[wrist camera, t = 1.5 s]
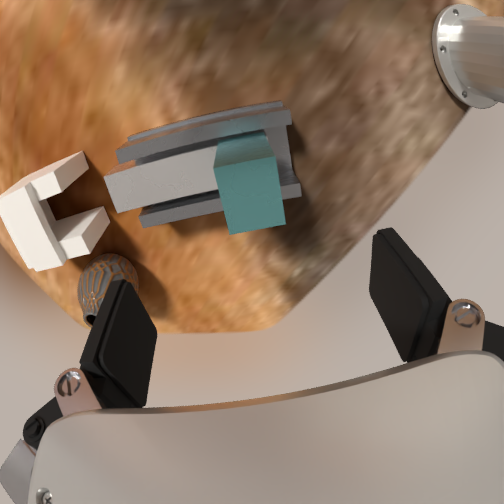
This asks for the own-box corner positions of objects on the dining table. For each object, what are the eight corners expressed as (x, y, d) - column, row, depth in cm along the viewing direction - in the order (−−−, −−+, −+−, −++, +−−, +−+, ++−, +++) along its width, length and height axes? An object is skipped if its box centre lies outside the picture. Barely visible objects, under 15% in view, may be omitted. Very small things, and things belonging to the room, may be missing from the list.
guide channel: (280, 100, 24) (289, 105, 20) (292, 180, 29) (301, 199, 25) (130, 135, 25) (114, 147, 21) (154, 208, 29) (144, 231, 26)
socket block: (82, 150, 25) (47, 175, 19) (110, 222, 30) (86, 259, 24) (23, 177, 25) (-12, 205, 20) (51, 238, 30) (24, 274, 24)
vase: (83, 247, 31) (52, 297, 24) (134, 240, 31) (110, 293, 24) (103, 291, 35) (81, 343, 28) (151, 288, 35) (136, 344, 28)
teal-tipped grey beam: (262, 124, 24) (279, 155, 16) (270, 170, 27) (289, 223, 18) (113, 162, 25) (64, 209, 17) (128, 202, 27) (90, 263, 19)
